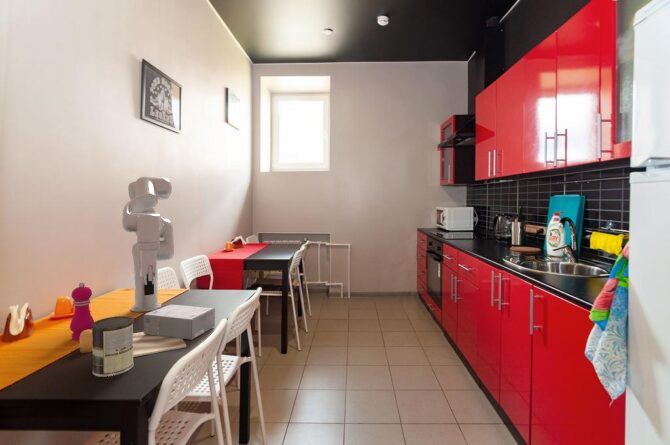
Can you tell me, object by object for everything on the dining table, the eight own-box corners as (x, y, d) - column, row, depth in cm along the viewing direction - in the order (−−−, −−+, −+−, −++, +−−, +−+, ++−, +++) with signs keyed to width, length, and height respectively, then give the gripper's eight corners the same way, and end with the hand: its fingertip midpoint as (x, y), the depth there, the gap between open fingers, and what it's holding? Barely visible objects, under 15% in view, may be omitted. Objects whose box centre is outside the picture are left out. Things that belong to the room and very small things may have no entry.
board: (121, 336, 128) (121, 335, 127) (175, 328, 137) (175, 326, 137) (124, 358, 109) (124, 357, 109) (186, 347, 119) (186, 345, 119)
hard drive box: (142, 334, 128) (191, 340, 124) (143, 314, 128) (191, 318, 123) (171, 322, 143) (215, 326, 139) (171, 303, 143) (215, 307, 138)
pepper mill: (99, 335, 129) (98, 281, 128) (79, 342, 122) (78, 285, 121) (85, 332, 131) (84, 279, 131) (65, 339, 125) (64, 283, 124)
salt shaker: (80, 349, 116) (80, 329, 116) (94, 347, 118) (94, 326, 118) (79, 353, 113) (79, 332, 112) (94, 351, 115) (94, 330, 115)
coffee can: (84, 377, 97) (83, 327, 96) (105, 361, 107) (104, 316, 107) (122, 376, 98) (122, 327, 97) (140, 360, 108) (139, 315, 108)
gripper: (135, 245, 136) (136, 291, 137) (138, 248, 124) (139, 300, 124) (157, 244, 140) (157, 289, 141) (162, 247, 128) (162, 297, 129)
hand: (149, 294), depth 133 cm, fingers closed
